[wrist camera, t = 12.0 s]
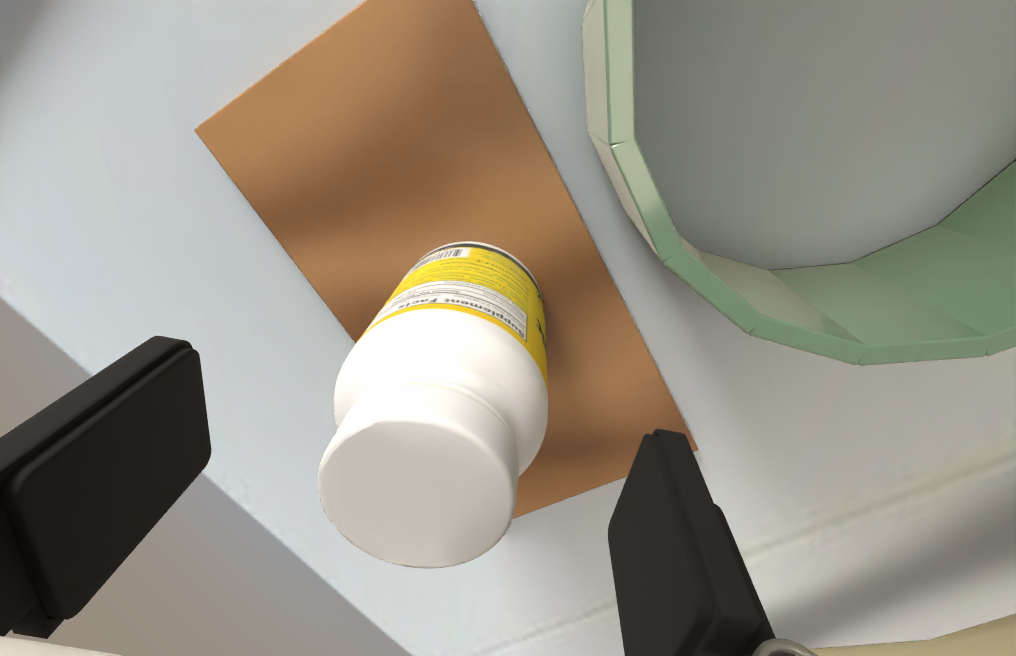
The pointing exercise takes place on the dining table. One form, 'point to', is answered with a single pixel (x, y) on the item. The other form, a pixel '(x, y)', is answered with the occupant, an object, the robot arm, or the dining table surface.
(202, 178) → the dining table surface
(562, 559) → the dining table surface
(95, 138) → the dining table surface
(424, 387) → the supplement bottle
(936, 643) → the flower vase
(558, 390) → the wooden board
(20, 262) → the dining table surface
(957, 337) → the bowl
